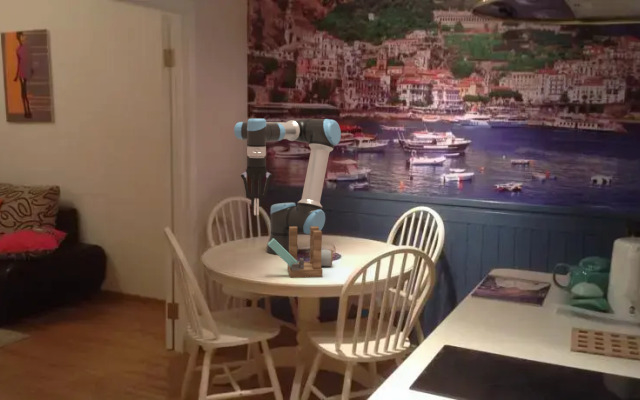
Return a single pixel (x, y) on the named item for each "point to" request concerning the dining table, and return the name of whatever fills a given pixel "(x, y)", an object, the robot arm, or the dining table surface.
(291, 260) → the hinged leg
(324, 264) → the ceramic mug
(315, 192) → the robot arm
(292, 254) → the upturned wooden stool
